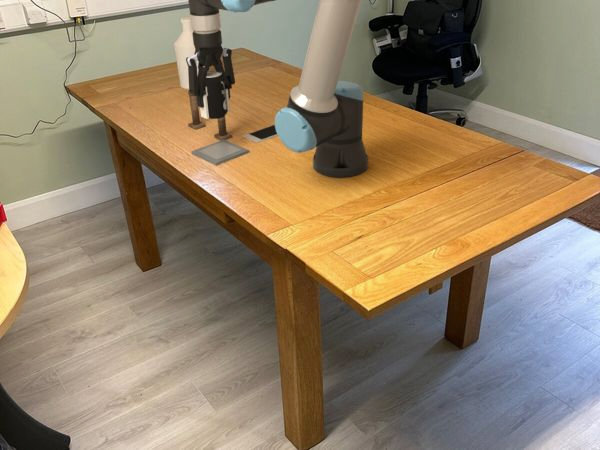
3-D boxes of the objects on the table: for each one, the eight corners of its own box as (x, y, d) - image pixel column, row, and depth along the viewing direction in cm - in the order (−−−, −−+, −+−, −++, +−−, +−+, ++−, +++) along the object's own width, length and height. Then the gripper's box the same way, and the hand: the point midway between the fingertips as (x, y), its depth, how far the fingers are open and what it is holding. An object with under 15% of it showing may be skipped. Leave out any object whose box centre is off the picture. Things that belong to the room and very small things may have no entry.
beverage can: (223, 120, 162) (218, 77, 156) (200, 119, 163) (195, 76, 157) (230, 111, 168) (226, 70, 162) (208, 111, 169) (203, 69, 163)
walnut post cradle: (232, 137, 182) (228, 97, 175) (222, 141, 179) (217, 101, 173) (198, 123, 193) (193, 85, 187) (188, 126, 191) (183, 88, 184)
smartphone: (242, 137, 182) (242, 135, 181) (281, 124, 191) (280, 121, 190) (257, 144, 177) (256, 141, 177) (295, 130, 186) (295, 127, 185)
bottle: (207, 88, 224) (199, 21, 212) (177, 89, 225) (167, 22, 212) (212, 79, 235) (204, 14, 222) (182, 80, 235) (173, 15, 222)
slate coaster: (249, 152, 171) (249, 149, 171) (216, 165, 164) (216, 162, 164) (224, 141, 179) (223, 139, 178) (191, 153, 172) (191, 151, 171)
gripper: (227, 21, 161) (234, 102, 173) (166, 35, 150) (179, 120, 162) (244, 25, 157) (250, 108, 169) (183, 39, 145) (194, 127, 157)
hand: (215, 113), depth 165 cm, fingers closed on beverage can, 7 cm apart
